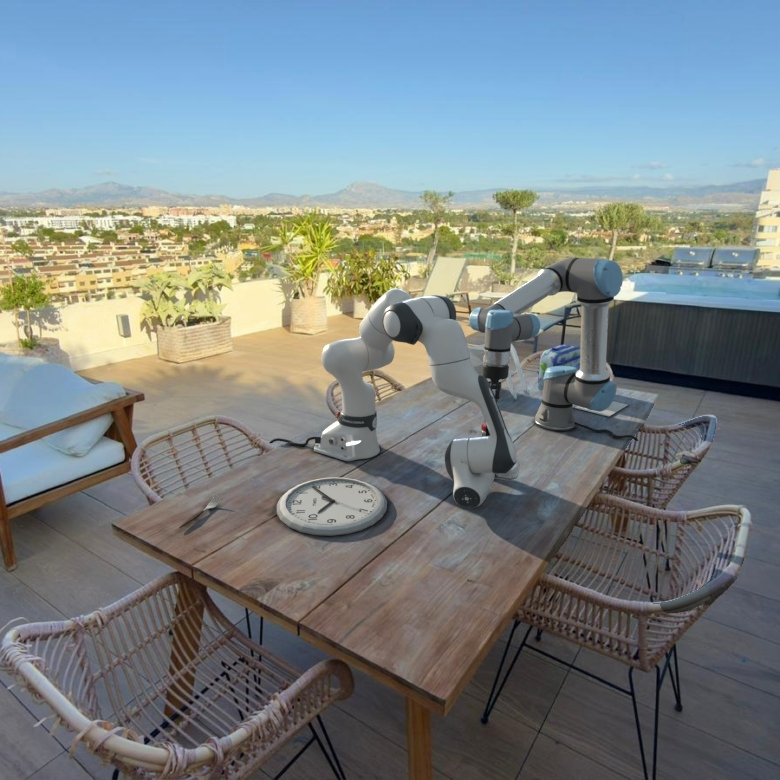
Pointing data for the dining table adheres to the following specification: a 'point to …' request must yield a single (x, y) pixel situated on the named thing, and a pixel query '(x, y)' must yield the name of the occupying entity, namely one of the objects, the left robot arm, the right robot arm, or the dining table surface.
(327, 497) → the wall clock
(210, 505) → the fork
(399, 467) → the dining table surface
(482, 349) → the white plastic object
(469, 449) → the left robot arm
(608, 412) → the invitation card
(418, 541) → the dining table surface
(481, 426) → the lid
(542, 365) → the lunch box
